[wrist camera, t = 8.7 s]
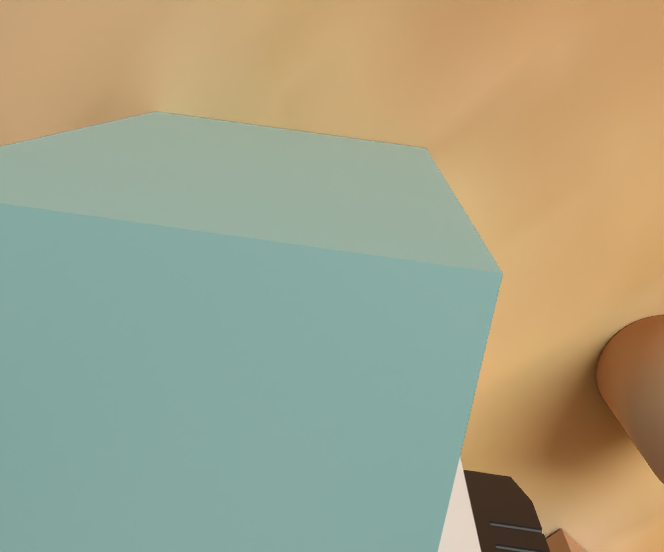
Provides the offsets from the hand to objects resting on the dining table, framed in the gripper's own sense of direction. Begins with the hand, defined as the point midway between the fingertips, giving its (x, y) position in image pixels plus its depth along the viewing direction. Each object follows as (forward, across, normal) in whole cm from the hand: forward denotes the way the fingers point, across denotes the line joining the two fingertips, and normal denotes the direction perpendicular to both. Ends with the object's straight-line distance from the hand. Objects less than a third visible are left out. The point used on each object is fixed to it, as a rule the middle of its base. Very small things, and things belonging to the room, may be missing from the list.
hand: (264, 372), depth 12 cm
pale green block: (0, 0, 0) cm, 0 cm away
